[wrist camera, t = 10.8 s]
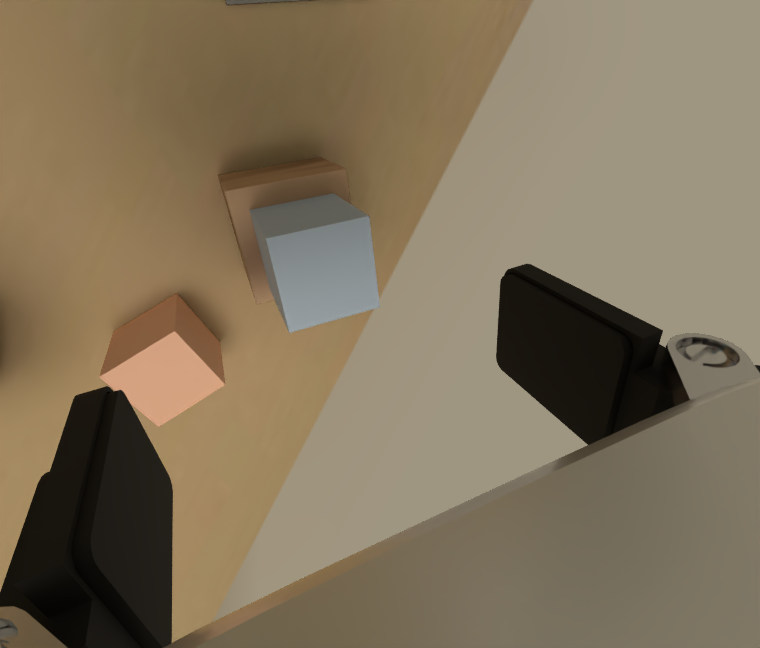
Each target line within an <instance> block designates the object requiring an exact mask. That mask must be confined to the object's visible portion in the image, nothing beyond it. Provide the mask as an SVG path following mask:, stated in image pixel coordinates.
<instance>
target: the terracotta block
mask: <svg viewBox="0 0 760 648" xmlns="http://www.w3.org/2000/svg"><path fill="white" fill-rule="evenodd" d="M99 377H100V378H101V379H102V380H103V381H105V382H106V383H107V384H108V385H109V386H111V387H112V388H113V389H114V390H115V391H117V390H122V391H123V392H124V393H125V395H126V397H127V398H128V400H129V402H130V403H131V404H132V405H133V406H134V407H136V408H137V409H138V410H139V411H140V412H142V413H143V414H144V415H145V416H146V417H147V418H149V419H150V420H151V421H152V422H153V423H155V424H156V425H157V426H158V427H159V426H161V425H162V424H164V423H165V422H167V421H169V420H170V419H172V418H173V417H175V416H177V415H178V414H180V413H181V412H183V411H184V410H186V409H188V408H189V407H191V406H192V405H194V404H196V403H197V402H199V401H200V400H202V399H203V398H205V397H207V396H208V395H210V394H211V393H213V392H214V391H216V390H218V389H219V388H221V387H222V386H224V385H225V378H224V370H223V363H222V355H221V348H220V342H219V341H218V340H217V338H216V337H215V336H214V335H213V334H212V333H211V332H210V331H209V329H208V328H207V327H206V326H205V325H204V324H203V323H202V321H201V320H200V319H199V318H198V317H197V316H196V315H195V313H194V312H193V311H192V310H191V309H190V308H189V307H188V306H187V304H186V303H185V302H184V301H183V300H182V299H181V298H180V296H179V295H178V294H177V293H176V294H175V295H173V296H171V297H170V298H168V299H166V300H165V301H163V302H161V303H160V304H158V305H156V306H155V307H153V308H151V309H150V310H148V311H146V312H145V313H143V314H141V315H140V316H138V317H136V318H135V319H133V320H131V321H130V322H128V323H126V324H125V325H123V326H121V327H120V328H118V329H117V330H115V331H114V332H113V335H112V338H111V341H110V345H109V348H108V351H107V354H106V357H105V360H104V364H103V367H102V370H101V373H100V376H99Z"/></svg>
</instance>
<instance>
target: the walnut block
mask: <svg viewBox="0 0 760 648" xmlns="http://www.w3.org/2000/svg"><path fill="white" fill-rule="evenodd" d="M218 177H219V181H220V184H221V188H222V191H223V195H224V198H225V202H226V205H227V208H228V212H229V215H230V219H231V222H232V226H233V229H234V233H235V236H236V240H237V243H238V247H239V250H240V253H241V257H242V260H243V264H244V267H245V271H246V274H247V277H248V280H249V283H250V286H251V289H252V292H253V295H254V297H255V300H256V303H257V304H261V303H265V302H269V301H272V300H275V299H274V297H273V295H272V293H271V290H270V287H269V283H268V280H267V276H266V272H265V268H264V264H263V260H262V256H261V253H260V249H259V245H258V241H257V237H256V233H255V230H254V226H253V222H252V218H251V214H250V210H252V209H257V208H262V207H267V206H272V205H277V204H282V203H287V202H292V201H297V200H302V199H307V198H312V197H317V196H322V195H327V194H332V193H334V194H335V195H337V196H339V197H340V198H342V199H343V200H345V201H346V202H348V203H350V204H351V202H350V195H349V187H348V180H347V173H346V169H345V168H343V167H341V166H338V165H336V164H334V163H332V162H329V161H327V160H325V159H323V158H321V157H319V158H313V159H308V160H302V161H296V162H290V163H285V164H279V165H273V166H268V167H262V168H256V169H250V170H245V171H239V172H233V173H228V174H222V175H218Z"/></svg>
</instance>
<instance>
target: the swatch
mask: <svg viewBox="0 0 760 648" xmlns="http://www.w3.org/2000/svg"><path fill="white" fill-rule="evenodd" d="M291 1H309V0H226V5H238V4H256V3H273V2H291Z"/></svg>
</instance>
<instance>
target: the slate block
mask: <svg viewBox="0 0 760 648" xmlns="http://www.w3.org/2000/svg"><path fill="white" fill-rule="evenodd" d="M250 214H251V218H252V222H253V226H254V230H255V233H256V237H257V241H258V245H259V249H260V253H261V256H262V260H263V264H264V268H265V272H266V276H267V280H268V283H269V287H270V290H271V293H272V295H273V297H274V299H275V302H276V304H277V306H278V308H279V311H280V313H281V315H282V317H283V320H284V322H285V324H286V326H287V329H288V331H289V333H291V332H294V331H298V330H301V329H305V328H308V327H312V326H315V325H319V324H322V323H326V322H329V321H333V320H336V319H340V318H343V317H347V316H350V315H354V314H357V313H361V312H364V311H368V310H371V309H375V308H379V307H380V304H379V295H378V287H377V278H376V270H375V261H374V253H373V244H372V236H371V227H370V219H369V216H368V215H367V214H365V213H364V212H362V211H360V210H359V209H357V208H356V207H354V206H353V205H351V204H350V203H348V202H346V201H345V200H343V199H342V198H340V197H339V196H337V195H335V194H334V193H332V194H327V195H322V196H317V197H312V198H307V199H302V200H297V201H292V202H287V203H282V204H277V205H272V206H267V207H262V208H257V209H252V210H250Z"/></svg>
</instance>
